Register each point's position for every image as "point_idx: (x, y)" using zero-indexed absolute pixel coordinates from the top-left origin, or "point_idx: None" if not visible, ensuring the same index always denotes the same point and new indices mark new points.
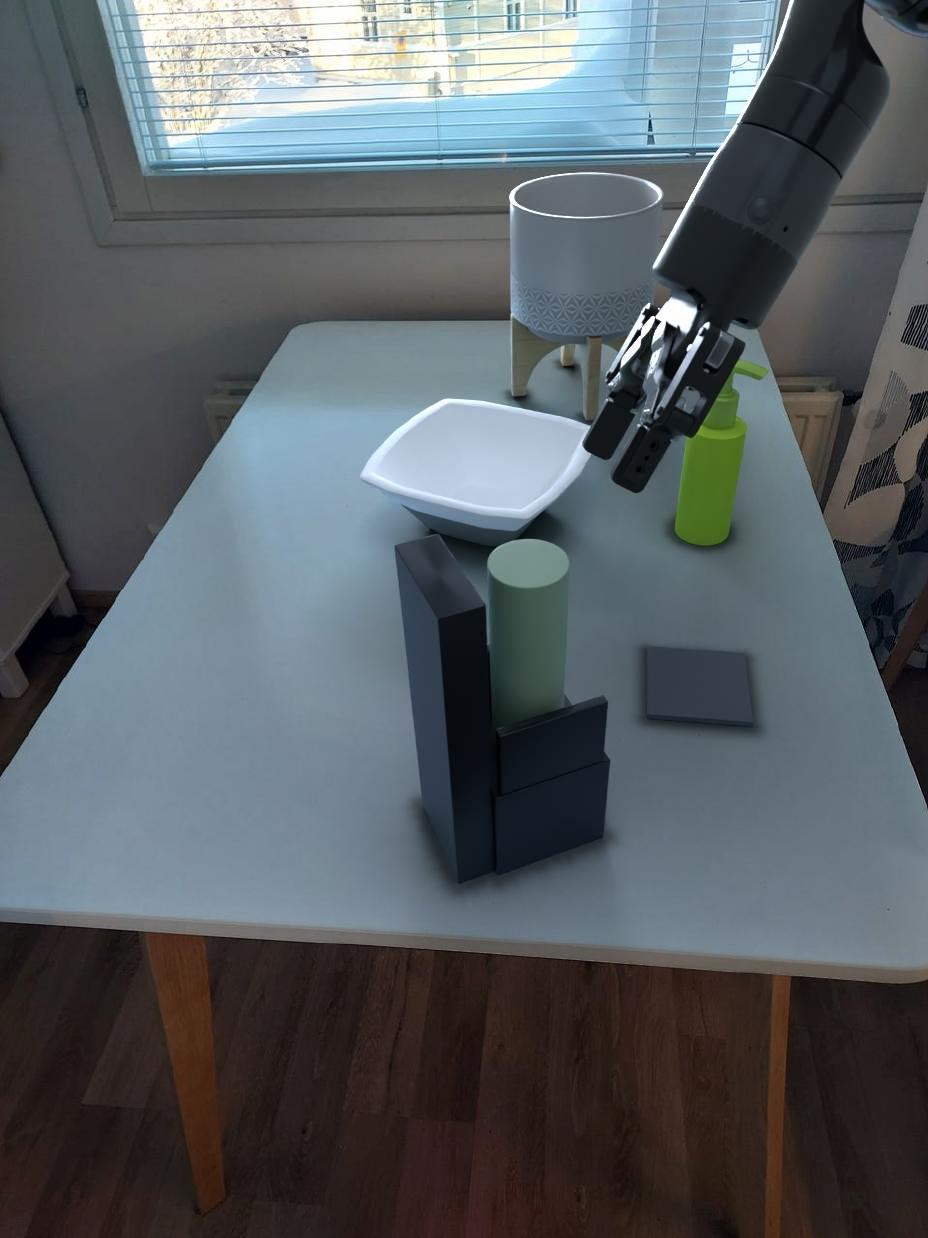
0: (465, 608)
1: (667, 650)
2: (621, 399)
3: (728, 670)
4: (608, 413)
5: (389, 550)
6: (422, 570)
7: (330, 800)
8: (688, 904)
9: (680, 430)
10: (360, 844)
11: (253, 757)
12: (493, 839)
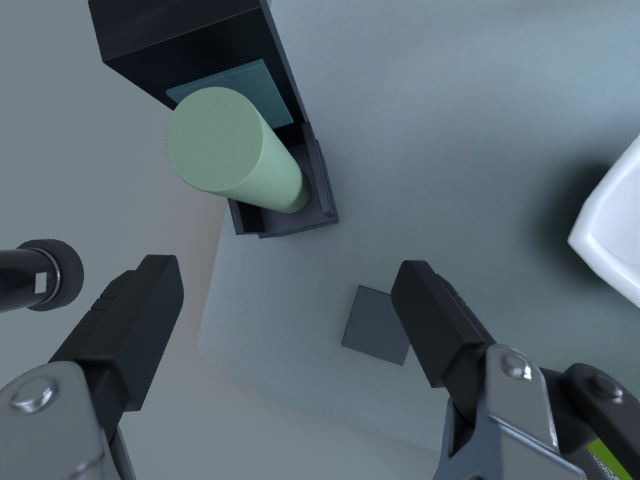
0: (100, 36)
1: None
2: (464, 376)
3: (388, 349)
4: (441, 328)
5: (594, 132)
6: None
7: (329, 88)
8: (236, 266)
9: None
10: None
11: (372, 37)
12: None
